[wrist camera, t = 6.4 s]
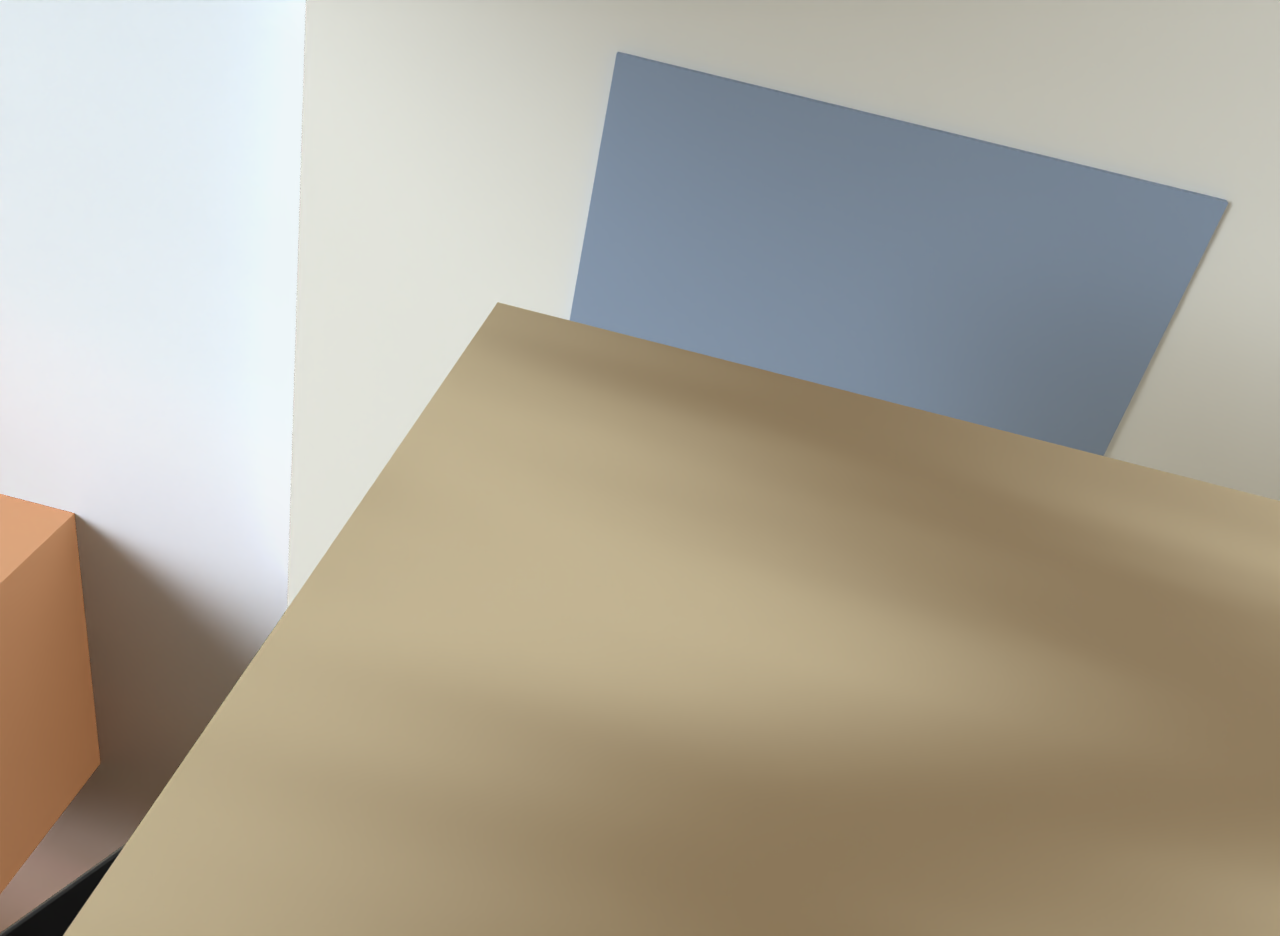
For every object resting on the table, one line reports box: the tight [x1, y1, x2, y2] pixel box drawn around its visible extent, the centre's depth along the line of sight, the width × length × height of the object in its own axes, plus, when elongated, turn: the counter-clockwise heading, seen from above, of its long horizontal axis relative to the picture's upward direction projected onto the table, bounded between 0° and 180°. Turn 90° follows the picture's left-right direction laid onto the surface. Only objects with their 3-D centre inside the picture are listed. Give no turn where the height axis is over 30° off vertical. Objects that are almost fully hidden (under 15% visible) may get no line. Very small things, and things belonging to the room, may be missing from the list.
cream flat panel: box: [287, 0, 1280, 609], centre depth 15 cm, size 12×14×1 cm
